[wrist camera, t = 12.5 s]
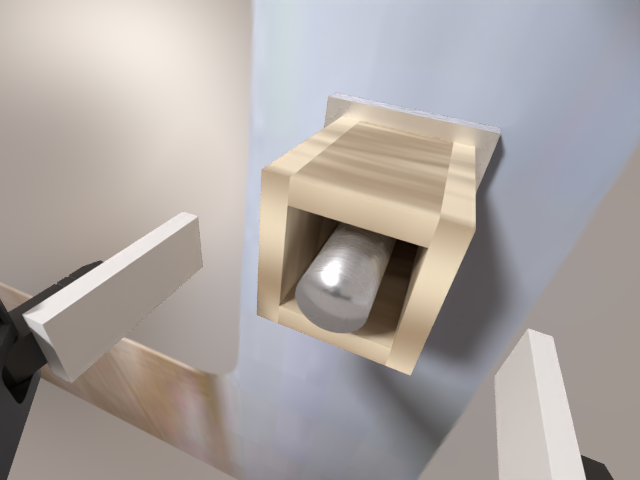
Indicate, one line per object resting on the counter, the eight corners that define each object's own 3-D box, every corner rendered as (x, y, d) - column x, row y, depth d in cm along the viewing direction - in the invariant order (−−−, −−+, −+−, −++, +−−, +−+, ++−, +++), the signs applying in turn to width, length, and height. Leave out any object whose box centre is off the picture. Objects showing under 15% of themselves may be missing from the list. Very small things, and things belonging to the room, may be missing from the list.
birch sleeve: (341, 116, 21) (261, 169, 13) (475, 147, 19) (475, 230, 11) (324, 226, 26) (256, 314, 18) (431, 259, 24) (410, 375, 16)
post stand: (336, 92, 22) (214, 148, 12) (499, 127, 20) (526, 235, 10) (317, 224, 28) (223, 341, 17) (443, 263, 25) (421, 425, 15)
